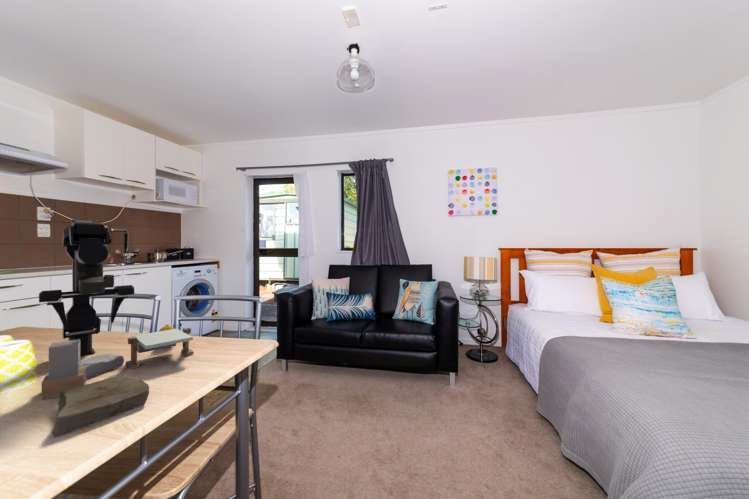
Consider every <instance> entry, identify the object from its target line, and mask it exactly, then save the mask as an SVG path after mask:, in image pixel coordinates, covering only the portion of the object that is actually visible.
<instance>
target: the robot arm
mask: <svg viewBox="0 0 749 499" xmlns="http://www.w3.org/2000/svg"><path fill="white" fill-rule="evenodd" d="M110 231H111V230H109V228H108V227H107V226H105V224H104V223H103V222H94V220H91V219H85V218H83V219H81V218H74V219H71V224H70V225H69V226H66V227H65V228H64V229H63V230H62V247H63V248H65V254H66V255H67V256H68V257H69V258H70V259H71V264H72V265H71V266H72V267H71V268H72V269H71V270H72V273H71V274H72V275H71V279H72V285H71V286H72V287H71V288H72V289H71V291H62V289H52V290H41V291H40V292H39V293H38V303H46V306H52V308H53V309H54V311H55V312H56V314H58V318H59V320H60V322H61V323H62V329H61V330H62V332H61V333H62V339H67V341H71V340H78V339H80V357H81V356H86V355H91V354H95V353H96V351H95V349H94V348H93V335H97V334H99V333H101V323H102V319H101V318H100V316H99V315H98V314H97V311H96V310H95V308H94V307H93V306H92V305H91V302H90V301H91V300H90V297H100V296H103V297H104V296H114V297H112V299H111V300H112V302H111V309H110V324H113V323H114V322H115V319H116V316H117V314H118V311H119V309H120V307H121V305H122V303H123V302H124V300H125V299H128V298H129V297H130V296H132V295H135V286H133V285H132V284H129V285H115V275H114V274H104V262H105V260H107V258H108V256H109V249H108V248H107V247H106V246H109V245H110V244H111V243H112V240H113V239H112V236H111V232H110ZM63 299H64V300H65V299H72V300H71V301H72V304H71V306H70V308H69V309H68V310H67V311H66V310H65V302H64V301H63Z"/></svg>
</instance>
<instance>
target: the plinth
mask: <svg viewBox="0 0 749 499" xmlns="http://www.w3.org/2000/svg"><path fill="white" fill-rule="evenodd" d="M86 383H87V379H86V367H80V371H79V373H78V375H74V376H68V377H63V378H57V379H52V380H49V372H47V373H46V375H45V377H43V380H42V381H41V401H43V400H48V399H53V398H60V393H61V392H62V391H63V390H67V389H70V388H74V387H78V386H82V385H86Z"/></svg>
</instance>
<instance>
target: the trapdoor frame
mask: <svg viewBox="0 0 749 499" xmlns="http://www.w3.org/2000/svg"><path fill="white" fill-rule="evenodd" d="M182 332H184V333H186V334H188V335H190V334H191V333H192V328H191V327H183V328H182ZM189 342H190V341H186V342H182V349H180V350H181V352H180V353H181V354H182V355H184V356H186V357H188V356H193V355H194V350H192V349H190V348H189V344H190V343H189ZM127 344H128V345H130V360H127V361H125V366H126V367H127V368H128V369H129V370H133V369H137V368H139V363H138V352H137V338H136V337H133V336H130V337H127Z"/></svg>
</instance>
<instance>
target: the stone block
mask: <svg viewBox="0 0 749 499" xmlns="http://www.w3.org/2000/svg"><path fill="white" fill-rule="evenodd" d="M124 362H125V359H124V356H123V355H119V354H116V353H104V354H100V355H96V356H92V357H89V358H86V359H83V360H80V367H86V380H87V379H91V378H93V377H95V376H98V375H101V374H104V373H107V372H108V371H109V372H110V371H111V370H115V369H117V368H119V367H121V366H123V365H124Z"/></svg>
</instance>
